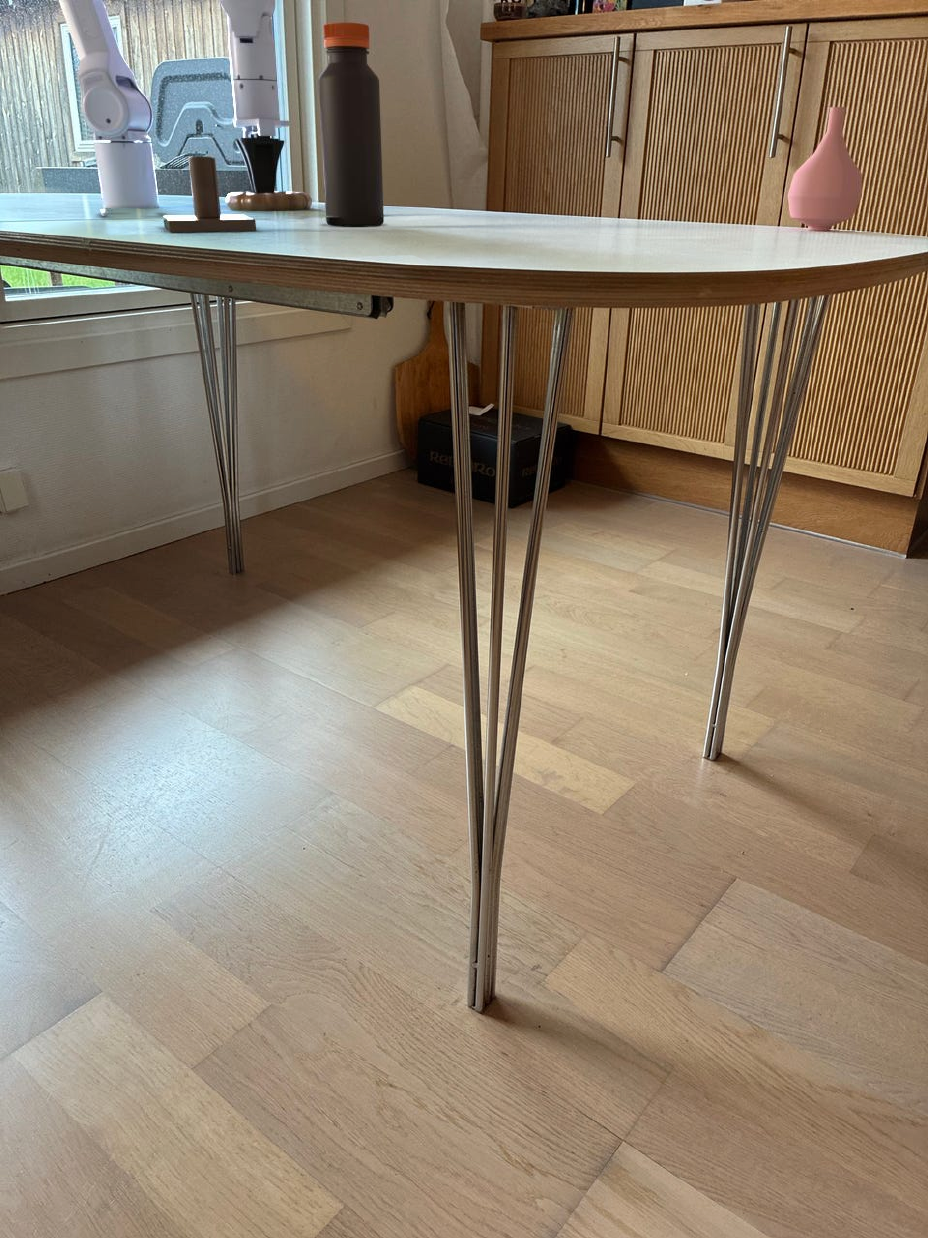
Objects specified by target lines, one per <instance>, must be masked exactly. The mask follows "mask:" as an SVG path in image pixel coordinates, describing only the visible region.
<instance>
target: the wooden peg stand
mask: <svg viewBox="0 0 928 1238" xmlns="http://www.w3.org/2000/svg"><path fill="white" fill-rule="evenodd" d="M187 158H188V169H189V177H190V187H191V194H192V202H193V212H194V215H163V216H162V217H163V226H164V228H165V229H166V230H167V231H168V233H171V234H182V233H184V234H185V233H186V234H187V233H188V234H189V233H223V232H224V233H227V232H229V233H230V232H231V233H232V232H234V233H235V232H257V224H256V223H257V222H256V219H255V218H253V217H250V216H248V215H245V214H222V211H221V202H220V193H219V191H220V190H219V183H218V174H217V164H216V157H215V156H188V157H187Z"/></svg>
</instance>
